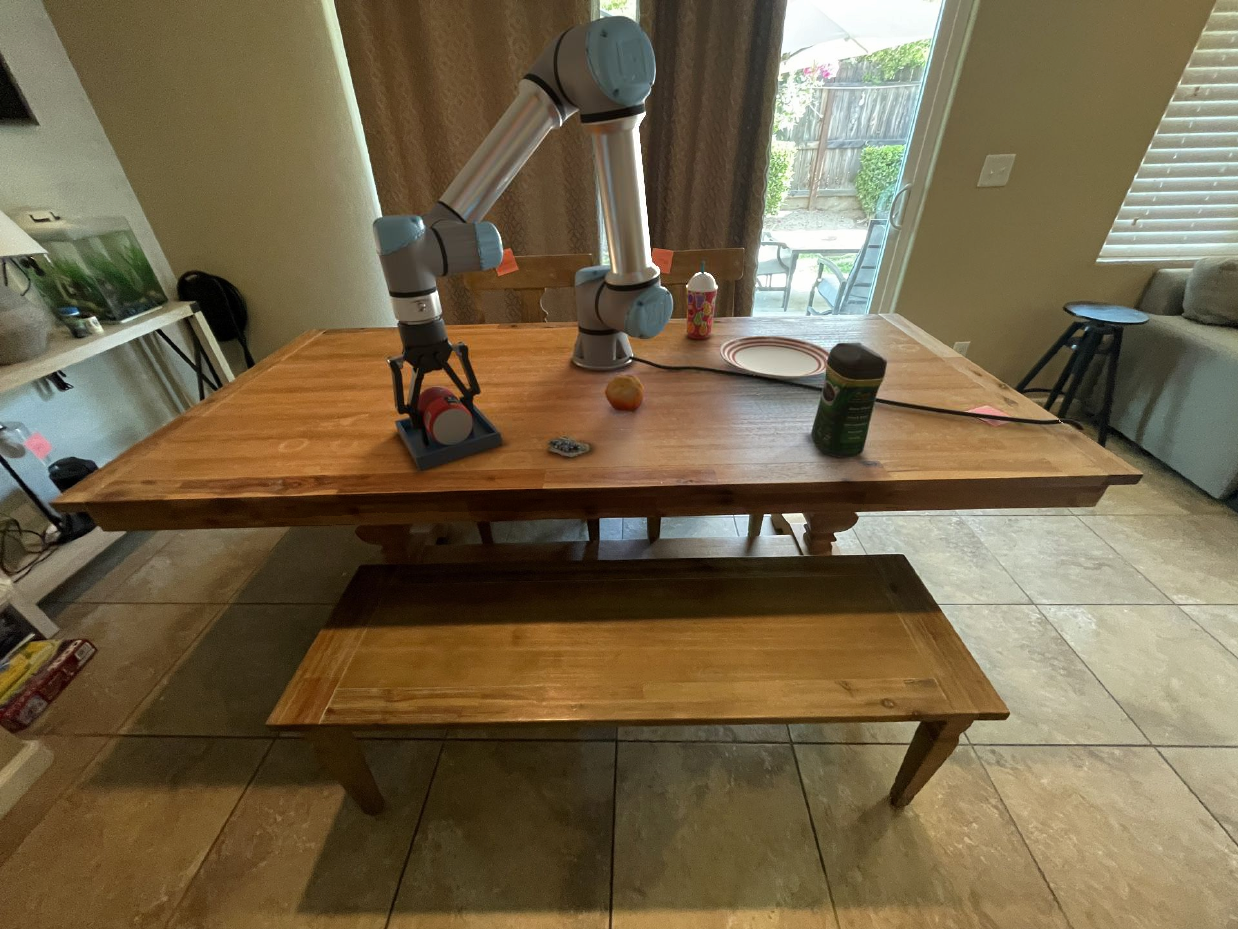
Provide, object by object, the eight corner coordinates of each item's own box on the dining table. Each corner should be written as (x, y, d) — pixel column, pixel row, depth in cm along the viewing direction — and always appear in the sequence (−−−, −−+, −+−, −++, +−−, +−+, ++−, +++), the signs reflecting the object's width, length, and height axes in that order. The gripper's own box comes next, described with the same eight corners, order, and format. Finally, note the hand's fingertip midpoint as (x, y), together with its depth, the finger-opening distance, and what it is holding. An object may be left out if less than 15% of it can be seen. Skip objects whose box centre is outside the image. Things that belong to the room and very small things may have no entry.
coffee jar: (869, 458, 88) (899, 357, 78) (826, 461, 88) (850, 360, 78) (844, 431, 96) (868, 336, 86) (804, 433, 96) (823, 339, 86)
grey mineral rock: (551, 438, 96) (550, 429, 95) (592, 439, 96) (592, 431, 95) (543, 457, 91) (542, 448, 90) (587, 458, 90) (586, 449, 89)
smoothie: (712, 331, 146) (718, 258, 135) (714, 341, 139) (720, 265, 128) (683, 331, 147) (687, 258, 136) (684, 340, 140) (687, 265, 129)
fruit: (651, 392, 109) (645, 370, 102) (642, 423, 106) (636, 402, 99) (616, 387, 112) (608, 365, 104) (606, 418, 108) (598, 397, 101)
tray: (502, 445, 95) (500, 432, 93) (419, 470, 88) (415, 458, 87) (473, 412, 106) (470, 400, 105) (398, 433, 100) (394, 421, 98)
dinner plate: (790, 340, 138) (792, 328, 137) (859, 377, 117) (862, 364, 115) (699, 354, 131) (700, 341, 130) (755, 396, 110) (757, 382, 108)
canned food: (456, 397, 88) (438, 377, 95) (420, 428, 87) (405, 404, 94) (482, 426, 93) (463, 404, 101) (449, 454, 92) (432, 430, 100)
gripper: (357, 336, 77) (397, 460, 90) (486, 312, 86) (505, 428, 99) (349, 324, 82) (387, 443, 95) (471, 302, 92) (491, 413, 104)
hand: (447, 435), depth 97 cm, fingers closed on canned food, 8 cm apart
